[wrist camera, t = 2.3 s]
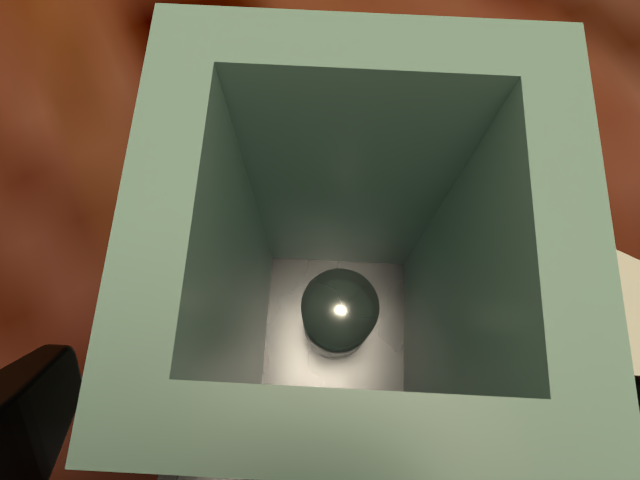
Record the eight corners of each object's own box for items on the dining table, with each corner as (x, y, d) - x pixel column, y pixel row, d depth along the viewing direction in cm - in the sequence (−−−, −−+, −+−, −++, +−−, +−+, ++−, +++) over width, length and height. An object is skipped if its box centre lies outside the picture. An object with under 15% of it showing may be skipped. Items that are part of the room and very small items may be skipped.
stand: (484, 500, 16) (558, 541, 11) (170, 483, 16) (107, 516, 11) (470, 207, 19) (521, 141, 14) (208, 194, 19) (172, 124, 14)
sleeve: (437, 439, 15) (652, 500, 5) (224, 428, 15) (65, 468, 5) (432, 237, 17) (582, 23, 7) (245, 228, 17) (155, 3, 7)
